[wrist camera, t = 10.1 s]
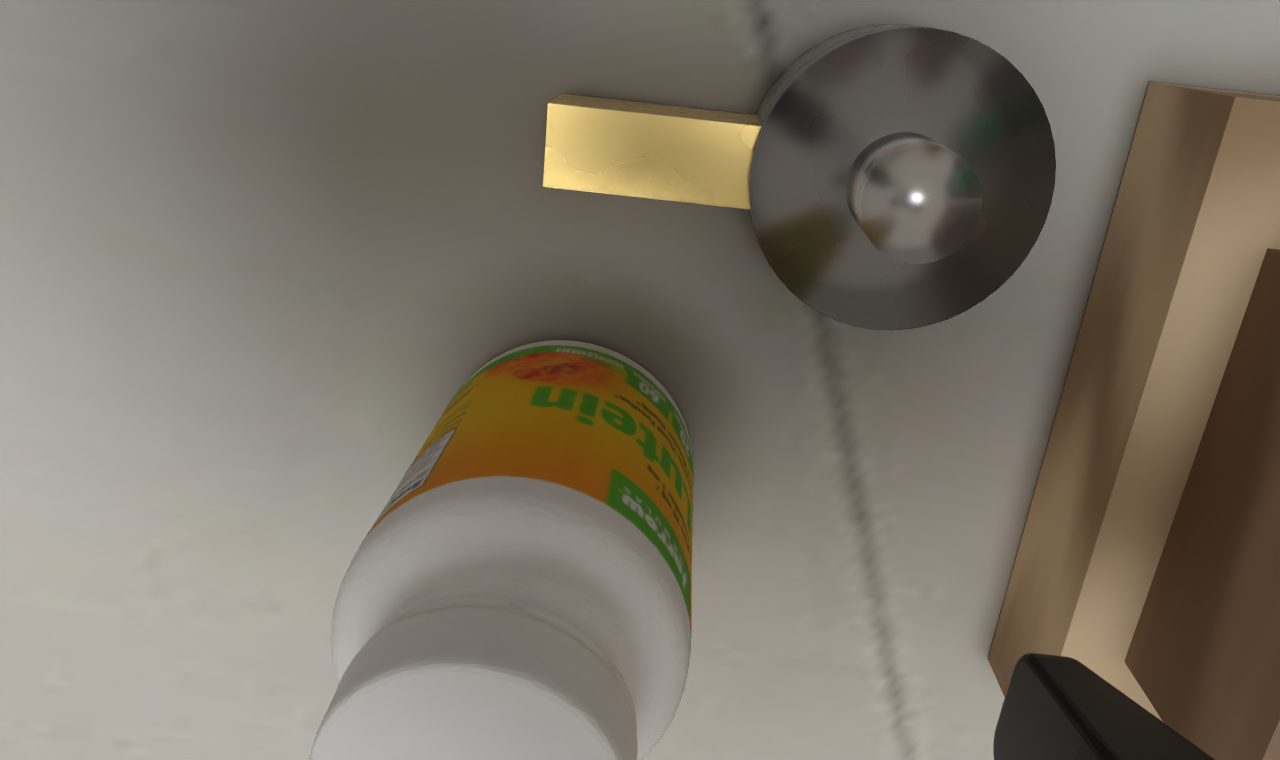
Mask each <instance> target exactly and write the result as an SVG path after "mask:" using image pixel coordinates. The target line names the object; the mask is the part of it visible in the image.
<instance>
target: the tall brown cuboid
mask: <svg viewBox="0 0 1280 760" xmlns="http://www.w3.org/2000/svg"><path fill="white" fill-rule="evenodd" d="M1124 662H1125V664H1126V665H1127V667H1128V668H1129V670H1130V671H1131V673H1132V674H1133V676H1134V678H1135V679H1136V681H1137V682H1138V684H1139V685H1140V687H1141V688H1142V690H1143V692H1144V693H1145V695H1146V696H1147V698H1148V699H1149V701H1150V702H1151V704H1152V705H1153V707H1154V709H1155V710H1156V712H1157V713H1158V715H1159V716H1160V718H1161V719H1162V721H1163V722H1164V723H1165V724H1166V725H1168V726H1169V727H1171V728H1172V729H1173V730H1175V731H1176V732H1178V733H1179V734H1180V735H1182V736H1183V737H1184V738H1186V739H1187V740H1189V741H1190V742H1191V743H1193V744H1194V745H1196V746H1197V747H1198V748H1200V749H1201V750H1202V751H1204V752H1205V753H1207V754H1208V755H1209V756H1211V757H1212V758H1214V759H1215V760H1280V250H1278V249H1269V248H1267V251H1266V253H1265V256H1264V259H1263V262H1262V265H1261V268H1260V271H1259V274H1258V277H1257V279H1256V282H1255V285H1254V288H1253V291H1252V294H1251V297H1250V300H1249V303H1248V306H1247V308H1246V311H1245V314H1244V317H1243V320H1242V323H1241V326H1240V329H1239V332H1238V334H1237V337H1236V340H1235V343H1234V346H1233V349H1232V352H1231V355H1230V358H1229V360H1228V363H1227V366H1226V369H1225V372H1224V375H1223V378H1222V381H1221V384H1220V386H1219V389H1218V392H1217V395H1216V398H1215V401H1214V404H1213V407H1212V410H1211V412H1210V415H1209V418H1208V421H1207V424H1206V427H1205V430H1204V433H1203V436H1202V438H1201V441H1200V444H1199V447H1198V450H1197V453H1196V456H1195V459H1194V462H1193V464H1192V467H1191V470H1190V473H1189V476H1188V479H1187V482H1186V485H1185V488H1184V490H1183V493H1182V496H1181V499H1180V502H1179V505H1178V508H1177V511H1176V514H1175V516H1174V519H1173V522H1172V525H1171V528H1170V531H1169V534H1168V537H1167V540H1166V542H1165V545H1164V548H1163V551H1162V554H1161V557H1160V560H1159V563H1158V566H1157V568H1156V571H1155V574H1154V577H1153V580H1152V583H1151V586H1150V589H1149V592H1148V594H1147V597H1146V600H1145V603H1144V606H1143V609H1142V612H1141V615H1140V618H1139V620H1138V623H1137V626H1136V629H1135V632H1134V635H1133V638H1132V641H1131V644H1130V646H1129V649H1128V652H1127V655H1126V658H1125V661H1124Z"/></svg>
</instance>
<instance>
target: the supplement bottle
mask: <svg viewBox="0 0 1280 760" xmlns="http://www.w3.org/2000/svg"><path fill="white" fill-rule="evenodd" d="M693 478H694V470H693V454H692V447H691V440H690V437H689V433H688V430H687V427H686V424H685V421H684V418H683V416H682V414H681V412H680V410H679V409H678V407H677V405H676V403H675V402H674V400H673V399H672V397H671V396H670V394H669V393H668V391H667V390H666V389H665V388H664V387H663V386H662V385H661V383H660V382H659V381H658V380H657V379H656V378H655V377H654V376H653V375H651V374H650V373H649V372H648V371H647V370H646V369H644V368H643V367H641V366H640V365H639V364H637V363H635V362H634V361H632V360H631V359H629V358H627V357H625V356H624V355H622V354H620V353H617V352H615V351H612V350H610V349H607V348H604V347H601V346H598V345H595V344H590V343H585V342H579V341H569V340H552V341H541V342H535V343H530V344H526V345H523V346H520V347H517V348H514V349H512V350H509V351H507V352H505V353H503V354H501V355H499V356H497V357H495V358H494V359H492V360H491V361H489V362H488V363H486V364H485V365H484V366H482V367H481V368H480V369H479V370H478V371H476V372H475V373H474V374H473V375H472V376H471V377H470V378H469V379H468V380H467V381H466V382H465V384H464V385H463V386H462V387H461V389H460V390H459V391H458V392H457V394H456V395H455V396H454V398H453V399H452V401H451V402H450V403H449V405H448V407H447V408H446V410H445V412H444V413H443V415H442V416H441V418H440V420H439V421H438V423H437V424H436V426H435V428H434V429H433V431H432V432H431V434H430V435H429V437H428V439H427V440H426V442H425V444H424V445H423V447H422V448H421V450H420V452H419V453H418V455H417V456H416V458H415V460H414V461H413V463H412V465H411V466H410V468H409V469H408V470H407V472H406V474H405V476H404V477H403V479H402V480H401V482H400V484H399V486H398V487H397V489H396V490H395V492H394V493H393V495H392V497H391V498H390V500H389V502H388V503H387V505H386V506H385V508H384V510H383V511H382V513H381V514H380V516H379V518H378V519H377V520H376V522H375V523H374V525H373V527H372V528H371V530H370V531H369V532H368V534H367V536H366V537H365V539H364V540H363V542H362V544H361V545H360V547H359V549H358V551H357V553H356V554H355V556H354V558H353V560H352V561H351V564H350V566H349V568H348V569H347V572H346V574H345V576H344V578H343V580H342V583H341V586H340V589H339V592H338V595H337V598H336V602H335V607H334V611H333V620H332V632H331V649H332V660H333V665H334V670H335V674H336V677H337V680H338V683H339V685H338V688H337V691H336V693H335V695H334V697H333V699H332V701H331V703H330V705H329V708H328V710H327V712H326V714H325V716H324V718H323V720H322V723H321V725H320V727H319V729H318V731H317V733H316V736H315V739H314V743H313V747H312V751H311V756H310V760H642V759H643V758H644V757H645V756H646V755H647V754H648V753H649V752H650V751H651V750H652V748H653V747H654V746H655V745H656V744H657V743H658V741H659V740H660V739H661V737H662V736H663V734H664V733H665V731H666V730H667V728H668V727H669V725H670V723H671V721H672V719H673V717H674V715H675V713H676V710H677V708H678V706H679V703H680V700H681V697H682V694H683V691H684V687H685V682H686V678H687V673H688V667H689V659H690V649H691V565H692V517H693Z"/></svg>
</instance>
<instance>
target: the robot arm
mask: <svg viewBox="0 0 1280 760" xmlns="http://www.w3.org/2000/svg"><path fill="white" fill-rule="evenodd" d="M993 751H994V760H1215V759H1214V758H1212V757H1211V756H1209V755H1208V754H1207V753H1205V752H1204V751H1202V750H1201V749H1200V748H1198V747H1197V746H1196V745H1194V744H1193V743H1191V742H1190V741H1189V740H1187V739H1186V738H1184V737H1183V736H1182V735H1180V734H1179V733H1178V732H1176V731H1175V730H1173V729H1172V728H1171V727H1169V726H1168V725H1166V724H1165V723H1164V722H1162V721H1161V720H1160V719H1158V718H1157V717H1155V716H1154V715H1153V714H1151V713H1150V712H1148V711H1147V710H1146V709H1144V708H1143V707H1142V706H1140V705H1139V704H1137V703H1136V702H1135V701H1133V700H1132V699H1130V698H1129V697H1128V696H1126V695H1125V694H1124V693H1122V692H1121V691H1119V690H1118V689H1117V688H1115V687H1114V686H1112V685H1111V684H1110V683H1108V682H1107V681H1106V680H1104V679H1103V678H1101V677H1100V676H1099V675H1097V674H1096V673H1095V672H1093V671H1092V670H1090V669H1089V668H1088V667H1086V666H1085V665H1083V664H1082V663H1081V662H1079V661H1078V660H1076V659H1073V658H1070V657H1065V656H1056V655H1047V654H1038V653H1026V654H1024V655H1023V656H1021V657H1020V658H1019V659H1018V661H1017V662H1016V664H1015V666H1014V669H1013V672H1012V676H1011V679H1010V682H1009V686H1008V689H1007V693H1006V696H1005V699H1004V703H1003V706H1002V710H1001V713H1000V716H999V720H998V723H997V727H996V730H995V735H994V749H993Z"/></svg>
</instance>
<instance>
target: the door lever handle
mask: <svg viewBox="0 0 1280 760" xmlns="http://www.w3.org/2000/svg"><path fill="white" fill-rule="evenodd" d="M1055 170H1056V160H1055V148H1054V141H1053V136H1052V132H1051V127H1050V124H1049V121H1048V118H1047V116H1046V113H1045V111H1044V108H1043V106H1042V104H1041V102H1040V100H1039V98H1038V97H1037V95H1036V93H1035V91H1034V89H1033V88H1032V87H1031V85H1030V84H1029V83H1028V81H1027V80H1026V79H1025V78H1024V76H1023V75H1022V74H1021V73H1020V72H1019V71H1018V70H1017V69H1016V68H1015V67H1014V66H1013V65H1012V64H1011V63H1010V62H1009V61H1008V60H1007V59H1006V58H1004V57H1003V56H1001V55H1000V54H998V53H997V52H996V51H994V50H993V49H991V48H990V47H988V46H986V45H984V44H982V43H980V42H978V41H976V40H974V39H972V38H969V37H966V36H963V35H960V34H957V33H954V32H950V31H944V30H938V29H933V28H925V27H916V26H908V25H888V24H885V25H875V26H866V27H862V28H858V29H854V30H849V31H847V32H844V33H841V34H839V35H836V36H834V37H831V38H829V39H827V40H825V41H824V42H822V43H820V44H818V45H816V46H814V47H813V48H811V49H810V50H809V51H807V52H806V53H804V54H803V55H802V56H800V57H799V58H798V59H797V60H796V61H795V62H793V63H792V64H791V65H790V66H789V67H788V68H787V69H786V70H785V71H784V72H783V73H782V74H781V76H780V77H779V78H778V79H777V80H776V82H775V83H774V84H773V85H772V87H771V88H770V90H769V91H768V93H767V94H766V96H765V97H764V99H763V101H762V103H761V105H760V107H759V109H758V111H757V113H756V115H753V114H744V113H735V112H726V111H717V110H708V109H698V108H689V107H680V106H671V105H662V104H652V103H643V102H634V101H625V100H616V99H606V98H597V97H588V96H579V95H570V94H561V95H559V96H558V97H556V98H555V99H553V100H552V101H551V102H549V103H548V112H547V128H546V144H545V160H544V176H543V187H551V188H560V189H569V190H578V191H587V192H596V193H605V194H614V195H623V196H632V197H641V198H650V199H659V200H669V201H678V202H687V203H696V204H705V205H714V206H723V207H732V208H741V209H750V213H751V217H752V221H753V225H754V229H755V232H756V235H757V238H758V241H759V244H760V247H761V249H762V251H763V253H764V255H765V257H766V259H767V261H768V263H769V264H770V266H771V267H772V269H773V270H774V272H775V273H776V275H777V276H778V278H779V279H780V280H781V281H782V282H783V283H784V284H785V285H786V286H787V288H788V289H789V290H790V291H791V292H792V293H793V294H795V295H796V296H797V297H798V298H799V299H801V300H802V301H803V302H804V303H805V304H807V305H809V306H810V307H812V308H813V309H815V310H816V311H818V312H820V313H821V314H824V315H826V316H828V317H830V318H832V319H834V320H837V321H840V322H843V323H846V324H849V325H853V326H857V327H863V328H868V329H877V330H901V329H912V328H917V327H922V326H927V325H931V324H934V323H937V322H940V321H944V320H947V319H949V318H951V317H954V316H956V315H958V314H960V313H962V312H964V311H966V310H968V309H970V308H971V307H973V306H975V305H976V304H978V303H980V302H981V301H983V300H984V299H985V298H987V297H988V296H989V295H991V294H992V293H993V292H994V291H996V290H997V289H998V288H999V287H1000V286H1001V285H1002V284H1003V283H1004V282H1005V281H1006V280H1007V279H1009V278H1010V277H1011V276H1012V275H1013V273H1014V272H1015V271H1016V270H1017V268H1018V267H1019V266H1020V265H1021V263H1022V262H1023V261H1024V260H1025V258H1026V257H1027V255H1028V254H1029V252H1030V250H1031V249H1032V247H1033V246H1034V244H1035V242H1036V241H1037V239H1038V236H1039V234H1040V232H1041V230H1042V228H1043V226H1044V224H1045V221H1046V218H1047V215H1048V212H1049V208H1050V205H1051V201H1052V196H1053V191H1054V185H1055Z"/></svg>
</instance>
